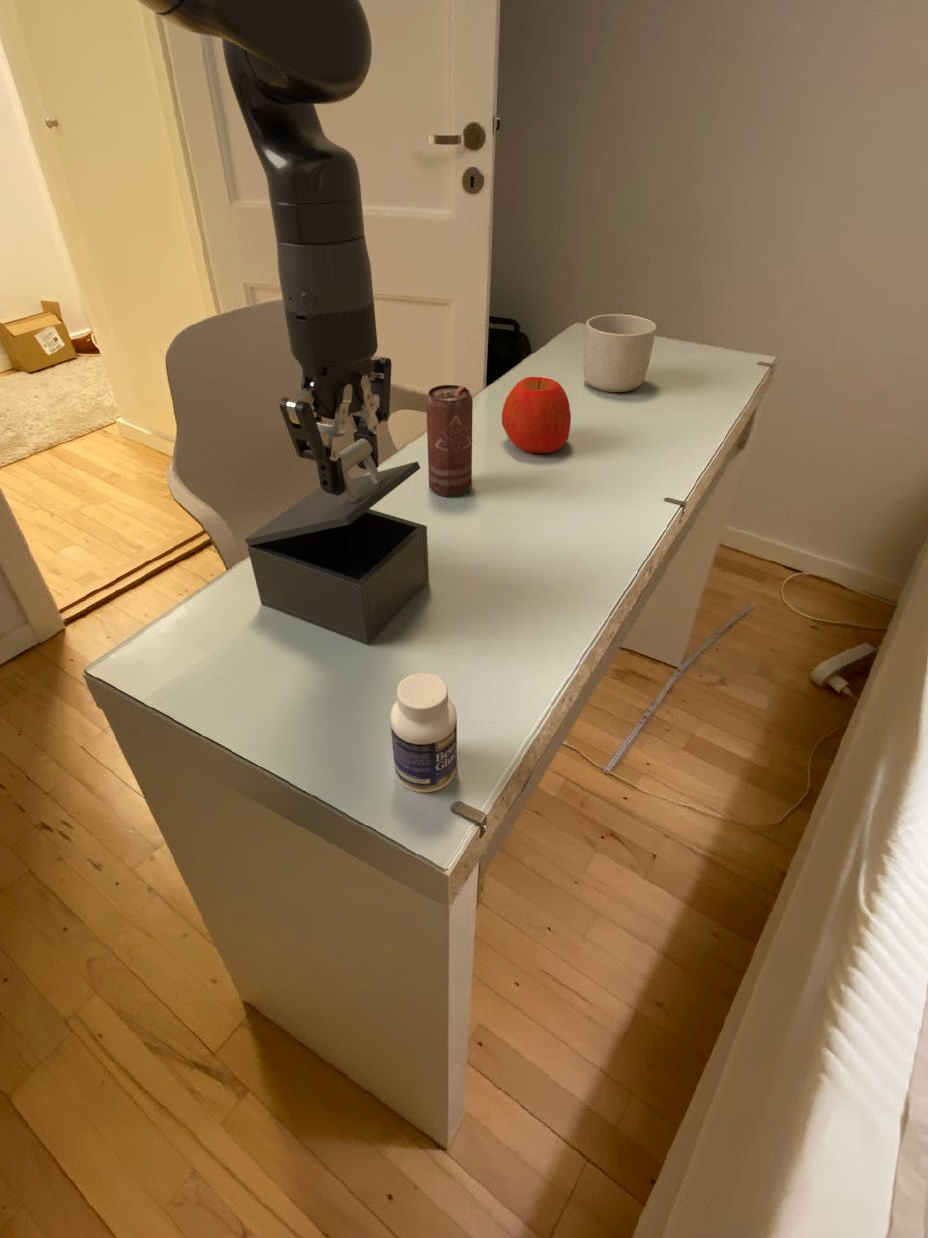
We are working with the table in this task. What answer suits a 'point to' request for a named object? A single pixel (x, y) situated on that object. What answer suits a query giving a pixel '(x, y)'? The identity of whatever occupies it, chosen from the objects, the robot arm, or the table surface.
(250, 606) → the table surface
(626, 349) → the planter
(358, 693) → the table surface
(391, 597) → the hinged lid box
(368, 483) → the upright box lid
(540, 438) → the apple
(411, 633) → the table surface
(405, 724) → the pill bottle
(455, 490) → the can
